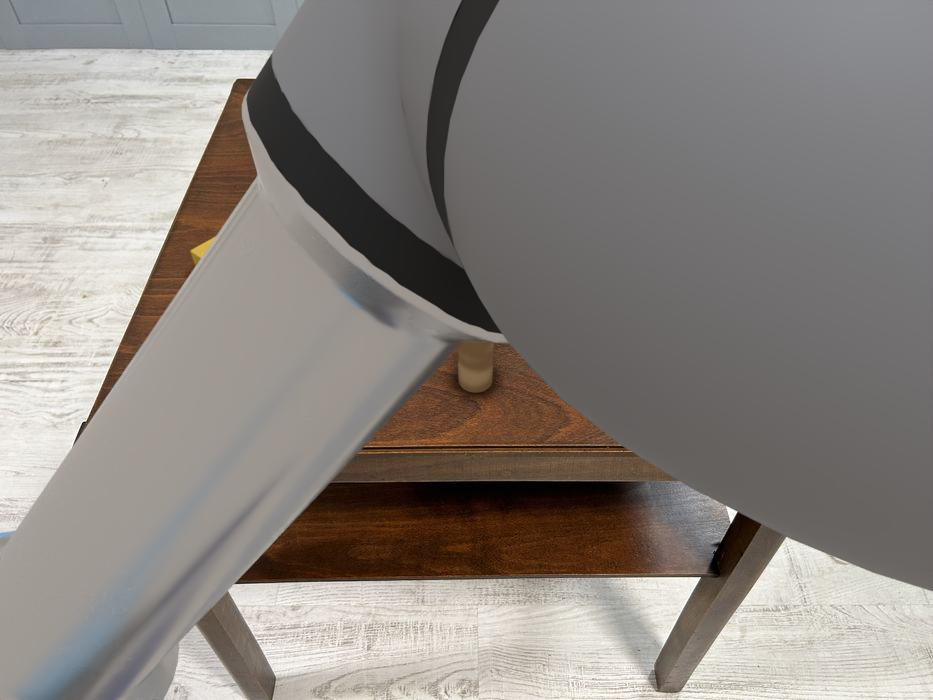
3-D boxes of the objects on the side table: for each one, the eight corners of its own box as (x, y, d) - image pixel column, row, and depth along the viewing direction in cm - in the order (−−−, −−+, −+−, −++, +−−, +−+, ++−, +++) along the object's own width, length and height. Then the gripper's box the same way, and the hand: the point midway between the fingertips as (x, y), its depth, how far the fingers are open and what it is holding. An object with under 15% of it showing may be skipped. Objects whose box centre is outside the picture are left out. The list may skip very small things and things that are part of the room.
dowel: (477, 398, 74) (480, 154, 54) (451, 381, 76) (444, 138, 56) (499, 378, 76) (510, 135, 56) (473, 362, 78) (474, 120, 58)
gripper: (797, 523, 46) (505, 396, 54) (867, 299, 61) (630, 224, 69) (840, 453, 41) (509, 323, 49) (905, 226, 56) (644, 154, 64)
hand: (580, 265), depth 59 cm, fingers open, 13 cm apart
